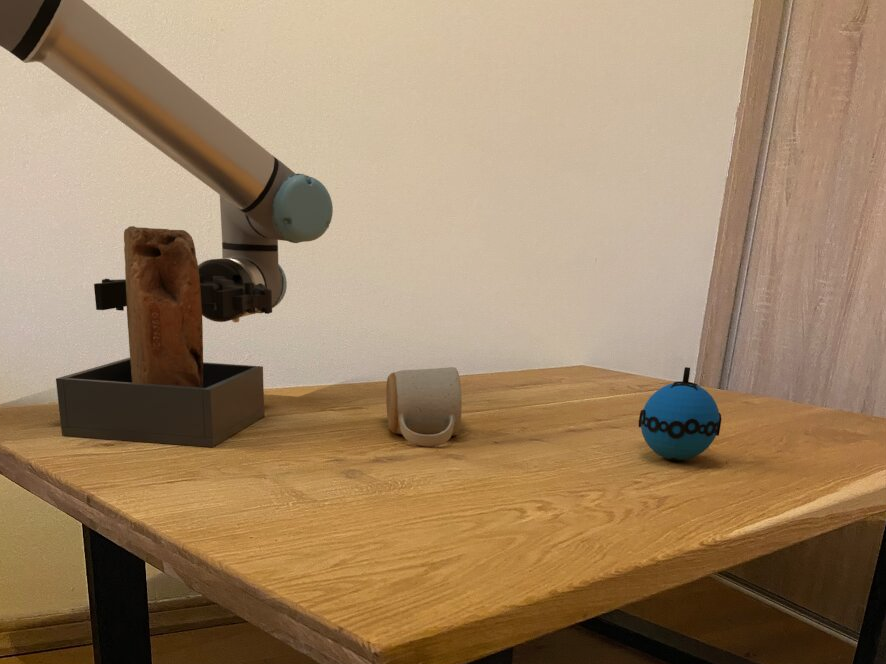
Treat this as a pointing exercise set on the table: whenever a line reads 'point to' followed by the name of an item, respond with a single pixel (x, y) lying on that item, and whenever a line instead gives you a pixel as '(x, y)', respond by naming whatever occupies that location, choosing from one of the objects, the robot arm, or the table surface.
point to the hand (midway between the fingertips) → (158, 300)
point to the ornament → (680, 420)
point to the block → (163, 307)
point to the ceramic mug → (424, 405)
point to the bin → (160, 405)
